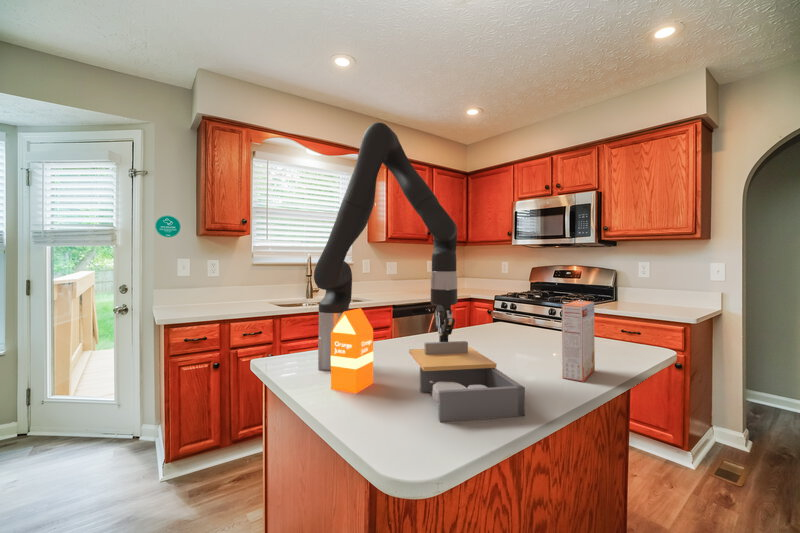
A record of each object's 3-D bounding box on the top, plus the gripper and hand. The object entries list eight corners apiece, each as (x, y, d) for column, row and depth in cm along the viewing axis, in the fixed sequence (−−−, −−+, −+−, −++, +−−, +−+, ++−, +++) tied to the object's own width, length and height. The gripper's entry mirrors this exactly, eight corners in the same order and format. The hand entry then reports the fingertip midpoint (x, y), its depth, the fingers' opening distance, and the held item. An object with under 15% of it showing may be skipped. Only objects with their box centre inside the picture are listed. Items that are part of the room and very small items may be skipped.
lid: (423, 371, 88) (423, 354, 88) (409, 352, 106) (409, 339, 106) (496, 367, 92) (496, 351, 91) (469, 350, 110) (470, 336, 110)
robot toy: (484, 397, 91) (426, 396, 89) (486, 379, 91) (427, 378, 89) (507, 418, 79) (440, 418, 76) (509, 397, 79) (441, 396, 76)
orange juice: (330, 388, 94) (330, 311, 94) (349, 379, 102) (349, 307, 102) (356, 393, 91) (356, 312, 91) (373, 383, 99) (373, 308, 99)
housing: (440, 422, 75) (440, 392, 75) (419, 391, 93) (419, 367, 93) (524, 415, 78) (524, 387, 78) (489, 386, 96) (489, 364, 96)
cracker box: (573, 367, 114) (574, 300, 114) (595, 371, 110) (595, 301, 110) (560, 378, 103) (560, 303, 103) (583, 382, 99) (584, 305, 99)
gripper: (425, 286, 110) (425, 343, 111) (437, 289, 97) (437, 354, 98) (449, 285, 112) (449, 342, 112) (464, 288, 99) (464, 353, 99)
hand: (443, 348), depth 105 cm, fingers closed
